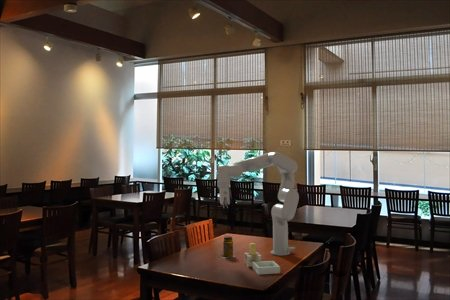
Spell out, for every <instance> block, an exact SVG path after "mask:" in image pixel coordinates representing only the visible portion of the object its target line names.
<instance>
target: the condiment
mask: <svg viewBox="0 0 450 300" xmlns="http://www.w3.org/2000/svg"><path fill="white" fill-rule="evenodd" d="M222 243H223V248H222V249H223V252H222V254H220V255H218V257H220V258H222V259H228V258H235V257H236V255H234V242H233V237H232V236H224V238H223V242H222Z"/></svg>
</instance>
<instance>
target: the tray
mask: <svg viewBox="0 0 450 300" xmlns="http://www.w3.org/2000/svg"><path fill="white" fill-rule="evenodd" d="M252 263H253V267H252V269H253V271H254V272H256V275H258V276H260V275H270V274H271V275H273V274H281V266H280V265H279V264H278V263H276V262H275V260H266V261H265V260H264V261H262V260H261V262H252Z"/></svg>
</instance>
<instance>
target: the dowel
mask: <svg viewBox="0 0 450 300" xmlns="http://www.w3.org/2000/svg"><path fill="white" fill-rule="evenodd" d="M256 252H257V244H256V243H254V242H251V243H249V253H250V255H256Z"/></svg>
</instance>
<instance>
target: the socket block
mask: <svg viewBox="0 0 450 300" xmlns="http://www.w3.org/2000/svg"><path fill="white" fill-rule="evenodd" d="M243 258H244V264H245V266H246V267H247V268H253V263H252V262H261V261H262V255H261V254H260V253H259V252H257V251H256V255H250V252H244V257H243Z"/></svg>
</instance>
